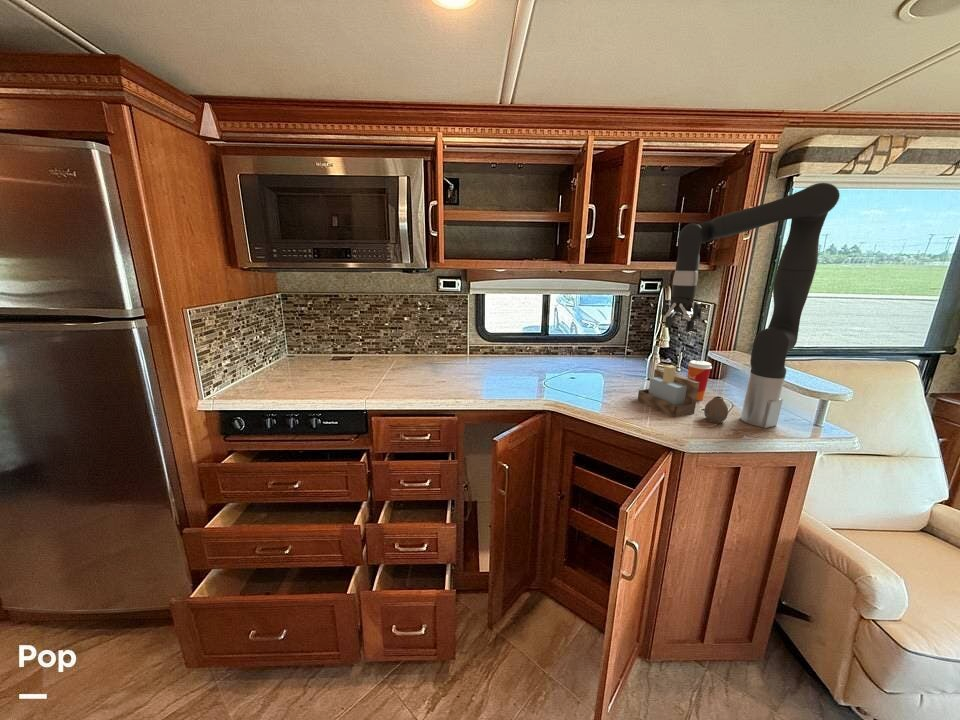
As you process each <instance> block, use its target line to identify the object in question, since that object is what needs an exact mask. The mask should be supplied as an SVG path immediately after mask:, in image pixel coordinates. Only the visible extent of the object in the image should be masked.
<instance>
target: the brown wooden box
mask: <svg viewBox="0 0 960 720" xmlns="http://www.w3.org/2000/svg"><path fill="white" fill-rule="evenodd" d="M653 371H654V373H653V378H654V377H663V375H664V369H660V368H655V369H654V370H653ZM674 382H677V383H680V384H682V385H685V386H687V390H686V396H685V402H684V404H682V405H677V406H676V405H674V404H671V403H669V402H667V401H664V400H662V399H659V398H657V397H655V396H652V395H650V394H648V393H649V388H646V389H645V388H644V389H641V390H638V392H637V393H638V394H637V402H639V403H641V404H642V405H646V406H648V407H650V408H651V409H654V410H656V411H659V412H661V413H663V414H665V415H667V416H669V417H674V418H679V417H685V416H687V415H689V416H690V415H693V414H695V410H696V404H697V401H696V400H697V394H698V389H699V383H700V382H697V381H694V380H691V379H688V377H685V376H682V375H679V374H676V373H675V379H674Z"/></svg>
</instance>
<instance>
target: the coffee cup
mask: <svg viewBox="0 0 960 720" xmlns="http://www.w3.org/2000/svg"><path fill="white" fill-rule="evenodd" d="M687 365H688V371H687V378H688V379H691V380H694V381H697V382H700V383H699V389H698V394H697V400H696V402H701V401H703V400H704V397H705V392H706V389H707V385H708V381H709V377H710V372H711V370H712V369H713V366H712V363H710V362H708V361H703V360H693V359H692V360H690V361H689V363H688V364H687Z"/></svg>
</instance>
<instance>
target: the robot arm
mask: <svg viewBox="0 0 960 720" xmlns="http://www.w3.org/2000/svg"><path fill="white" fill-rule="evenodd" d="M840 195H841V194H840V191H839V189H838V188H837V186H836V185H834V184H833V183H828V182H818V183H813V184H810V185H808V187H806V188H803V189H801V190H799V191H796V192H795V193H792V194H790V195H787V196H785V197H782V198H779V199H777V200H776V199H775V200H773V201H770V202H767V203H766V202H765V203H763V204H760V205H756V206H751V207H748V208H744V209H740V210H737V211H733V212H729V213H726V214H722V215H719V216H716V217H714V218H713V219H710V220H707V221H704V222H700V223H688V224H686V225H684V227H683V228H681V230H680V232H679V234H678V240H677V241H678V242H677V243H678V244H677V257H676V258H677V259H676V264H675V270H674V273H673V274H674V275H673V278H672V279H673V280H672V287H671V294H670V296H671V299H670V298H665V299H663V303H662V308H661V313H660V314H661V316H664V318H665V321H664V326H665V328H667V329H668V328H669V329H670V328H671V327H672V324H673V316H674V315H675V314H676V313H680V314H683V315H684V316H685V317H686V319H687V320H686V326H685V332H692V331H693V330H694V327H695V326H694V325H695V321H697V320H701V319H702V318H701V317H702V308H703V302H702V301H697V302H694V300H695V298H696V292H697V285H698V280H699V269H700V268H699V266H700V261H701V260H700V259H701V258H700V257H701V256H700V252H701V246H702V244H704V243H707V242H710V241H713V240H714V241H715V240H718V239H722V238H726V237H730V236H734V235H738V234H742V233H745V232H749V231H752V230H755V229H757V228H761V227H764V226H767V225H770V224H773V223H779V222H781V221H788V220H791V223H790V229H789V233H788V236H787V241H786V242H785V245H784V248H783V250H782V253H781V256H780V259H779V262H778V265H777V268H776V271H775V275H774V279H773V285H772V293H773V295H772V296H773V310H772V316H771V319H770V322H769V324H768V326H767V328H764V329H762V330H760V331H759V332H758V333H757V334H756V335H755V337H754V340H753V343H752V348H751V350H752V351H751V355H750V373H749V376H748V382H747V386H746V391H745V396H744V399H743V406H742V411H741V415H740V420H741V421H742V422H744V423H746V424H749V425H751V426H755V427H761V428H764V429H769V428H772V427H776V426H777V425H778V422H779V417H780V413H781V409H782V404H783V401H784V400H783V399H782V398H781V396H782V392H783V386H784V382H785V378H786V374H787V368H786V366H785V363H786V359H787V354H788V353H789V351H790V352H791V350H792V349H793V348H794V347H796V345H797V341H798V338H799V337H798V336H799V330H800V322H801V317H802V312H803V309H804V307H805V305H806V301H807V299H808V296H809V292H810V289H811V286H812V283H813V279H814V277H815V273H816V270H817V267H818V266H817V265H818V261H819V260H818V259H819V247H820V246H819V244H820V243H819V242H820V237H821V236H820V235H821V231H822V229H823V226H824V224H825V221H826V219H827V216H828V214H829V212H831V211H832V210H833V209H834V208H835V206H837V204H838V202H839V200H840V197H841V196H840Z"/></svg>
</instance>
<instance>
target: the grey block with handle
mask: <svg viewBox="0 0 960 720" xmlns="http://www.w3.org/2000/svg"><path fill="white" fill-rule="evenodd" d="M663 371H664V375H663V377H654V376H653V377H650V379H649V387H648V389H649V393H648V394H650V395H652V396H655V397H657V398H659V399H662V400H664V401H667V402H669V403H671V404H674V405H676V406H677V405H682V404H684V402H685V396H686V390H687V386H685V385H682V384H680V383H677V382H674V379H675V374H676V371H677V367H676V366H674V365H664V369H663Z"/></svg>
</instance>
